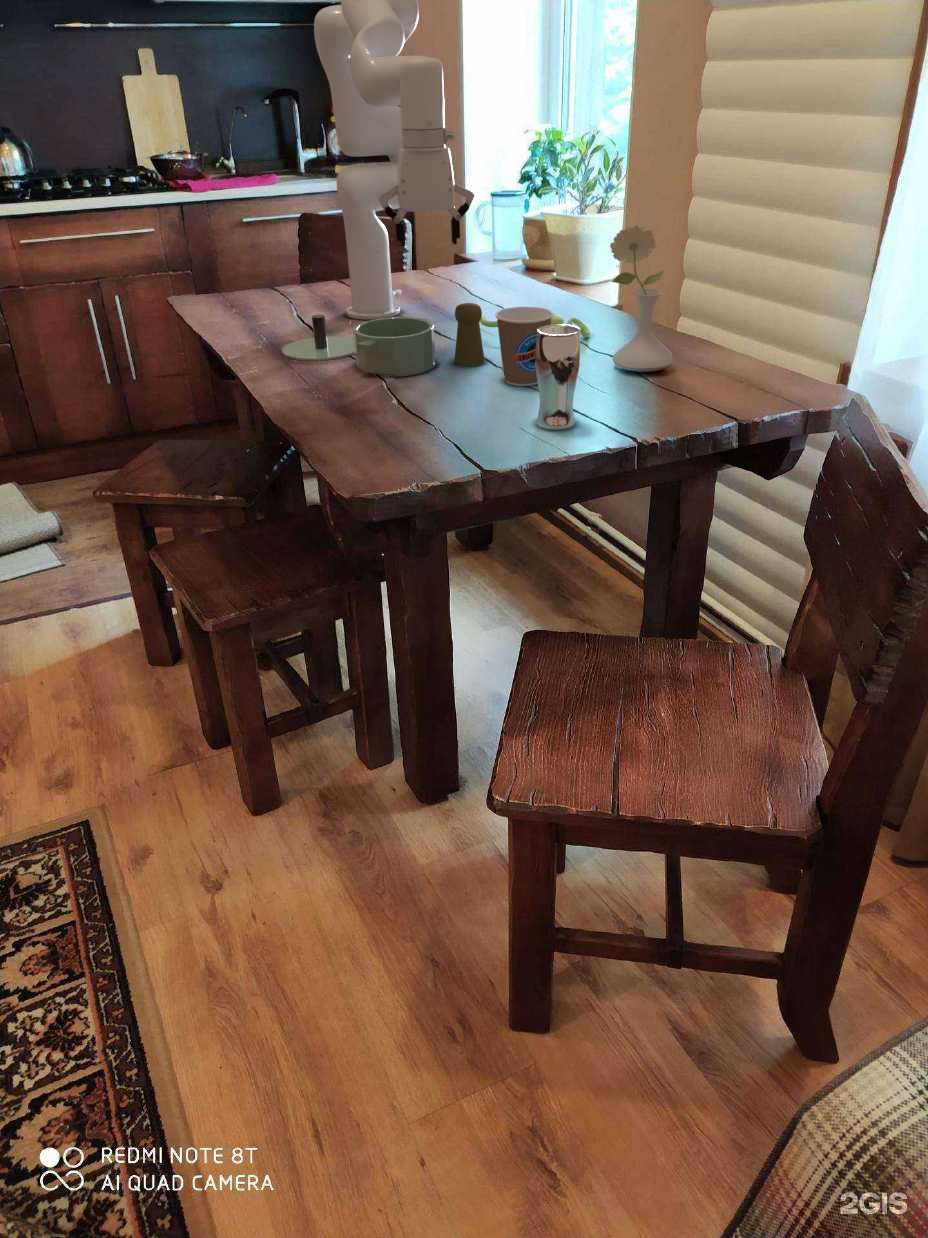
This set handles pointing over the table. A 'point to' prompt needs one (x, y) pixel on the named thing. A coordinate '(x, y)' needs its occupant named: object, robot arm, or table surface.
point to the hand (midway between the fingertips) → (428, 243)
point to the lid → (319, 345)
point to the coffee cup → (520, 342)
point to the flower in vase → (640, 304)
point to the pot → (395, 346)
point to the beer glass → (557, 374)
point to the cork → (468, 335)
